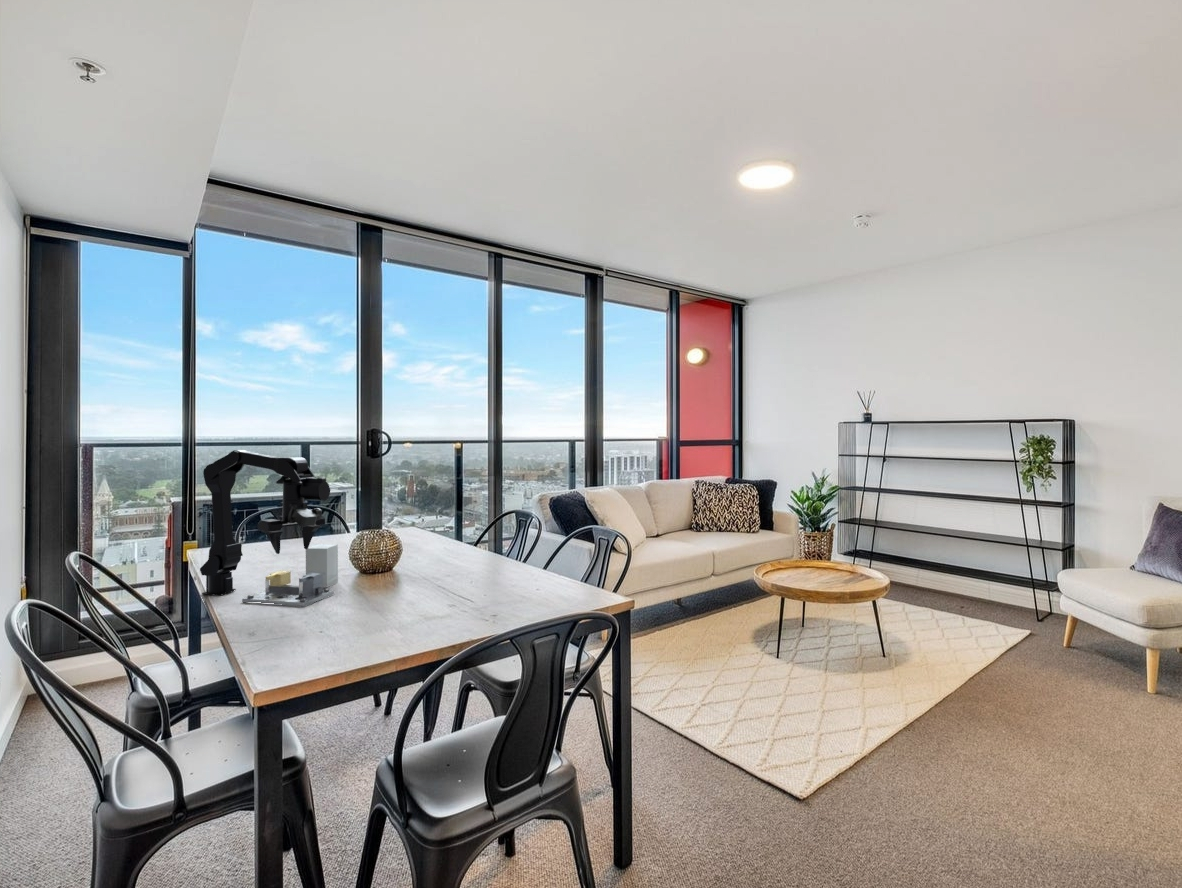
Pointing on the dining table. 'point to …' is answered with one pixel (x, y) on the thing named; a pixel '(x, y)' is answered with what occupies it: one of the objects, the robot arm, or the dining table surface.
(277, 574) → the yellow chamfered block
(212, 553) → the robot arm
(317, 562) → the supplement box
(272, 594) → the bolt plate
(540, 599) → the dining table surface
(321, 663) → the dining table surface
